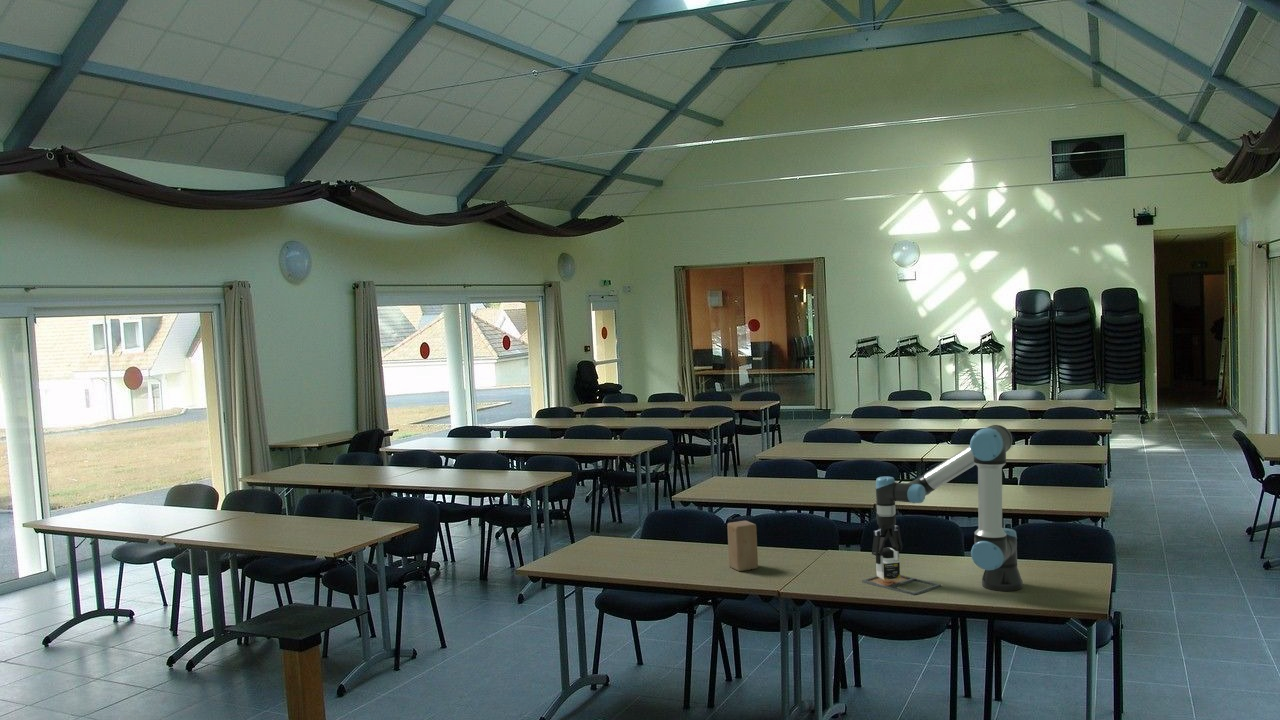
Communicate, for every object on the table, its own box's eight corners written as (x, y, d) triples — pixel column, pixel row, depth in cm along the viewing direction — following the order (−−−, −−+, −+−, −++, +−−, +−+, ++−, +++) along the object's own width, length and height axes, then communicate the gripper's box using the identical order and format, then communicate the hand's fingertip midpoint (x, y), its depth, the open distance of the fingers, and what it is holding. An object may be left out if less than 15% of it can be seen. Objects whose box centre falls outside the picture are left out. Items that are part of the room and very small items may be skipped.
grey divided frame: (941, 586, 389) (941, 584, 389) (914, 595, 379) (914, 593, 379) (889, 574, 410) (889, 572, 410) (862, 582, 400) (862, 580, 400)
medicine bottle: (884, 580, 395) (883, 551, 395) (876, 576, 402) (875, 547, 402) (900, 578, 397) (899, 549, 396) (892, 574, 404) (891, 545, 403)
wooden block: (738, 572, 424) (736, 526, 423) (728, 567, 433) (726, 522, 432) (759, 569, 428) (757, 523, 427) (748, 563, 437) (746, 519, 436)
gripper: (895, 509, 408) (897, 562, 409) (861, 517, 395) (863, 572, 396) (910, 511, 402) (912, 565, 403) (875, 520, 389) (877, 576, 390)
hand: (887, 568), depth 400 cm, fingers closed on medicine bottle, 9 cm apart
